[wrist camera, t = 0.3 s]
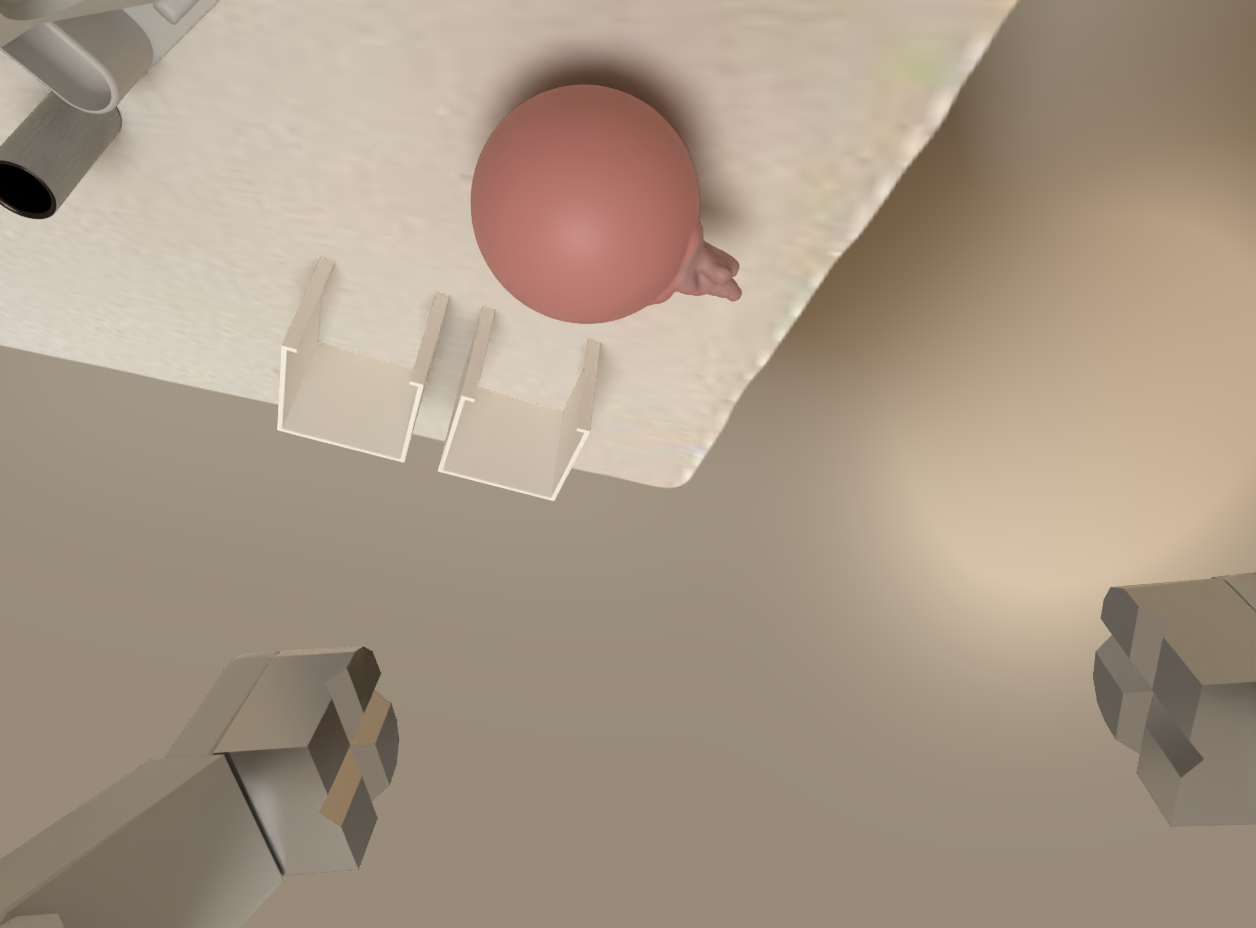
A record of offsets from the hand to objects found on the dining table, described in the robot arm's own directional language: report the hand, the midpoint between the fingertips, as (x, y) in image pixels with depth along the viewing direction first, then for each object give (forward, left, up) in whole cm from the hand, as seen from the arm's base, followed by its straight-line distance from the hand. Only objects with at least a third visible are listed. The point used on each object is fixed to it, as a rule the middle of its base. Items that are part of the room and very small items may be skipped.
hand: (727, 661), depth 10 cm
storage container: (+29, -42, -53) cm, 73 cm away
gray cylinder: (-3, -50, -53) cm, 73 cm away
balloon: (+20, -18, -53) cm, 59 cm away
